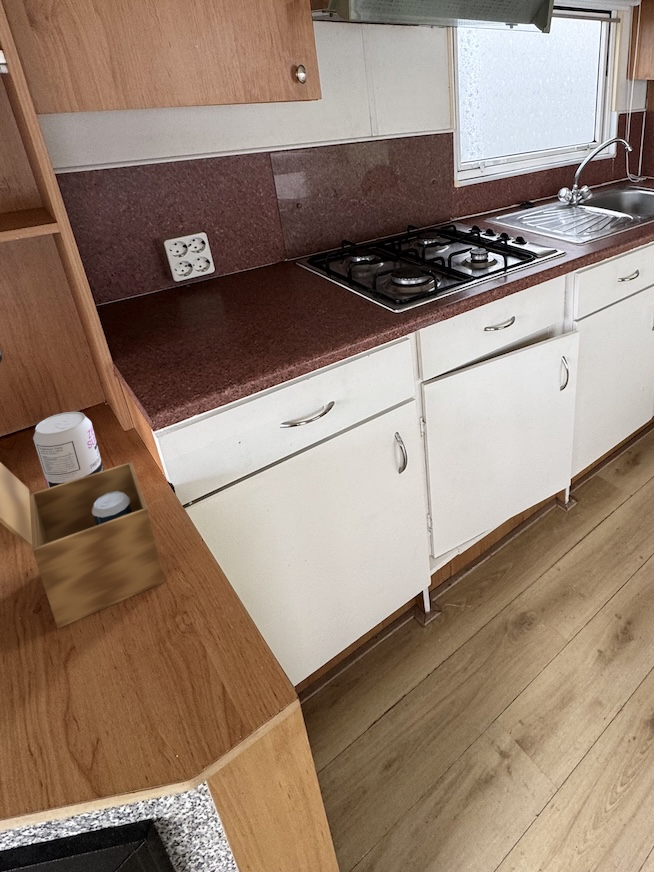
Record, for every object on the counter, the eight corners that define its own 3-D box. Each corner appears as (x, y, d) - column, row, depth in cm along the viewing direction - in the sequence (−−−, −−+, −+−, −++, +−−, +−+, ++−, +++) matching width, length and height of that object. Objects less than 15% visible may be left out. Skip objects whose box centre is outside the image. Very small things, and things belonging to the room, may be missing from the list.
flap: (32, 545, 74) (29, 547, 74) (29, 489, 84) (26, 491, 84) (-3, 514, 71) (-6, 517, 71) (-2, 460, 81) (-5, 462, 81)
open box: (57, 628, 79) (32, 550, 74) (51, 566, 89) (29, 494, 85) (164, 582, 87) (147, 508, 82) (147, 529, 97) (131, 461, 92)
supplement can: (43, 498, 104) (21, 426, 98) (94, 474, 110) (75, 405, 105) (65, 515, 100) (44, 441, 94) (116, 489, 106) (98, 418, 101)
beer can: (151, 555, 91) (136, 492, 87) (126, 578, 86) (109, 513, 82) (125, 549, 92) (109, 487, 88) (99, 572, 87) (81, 508, 83)
